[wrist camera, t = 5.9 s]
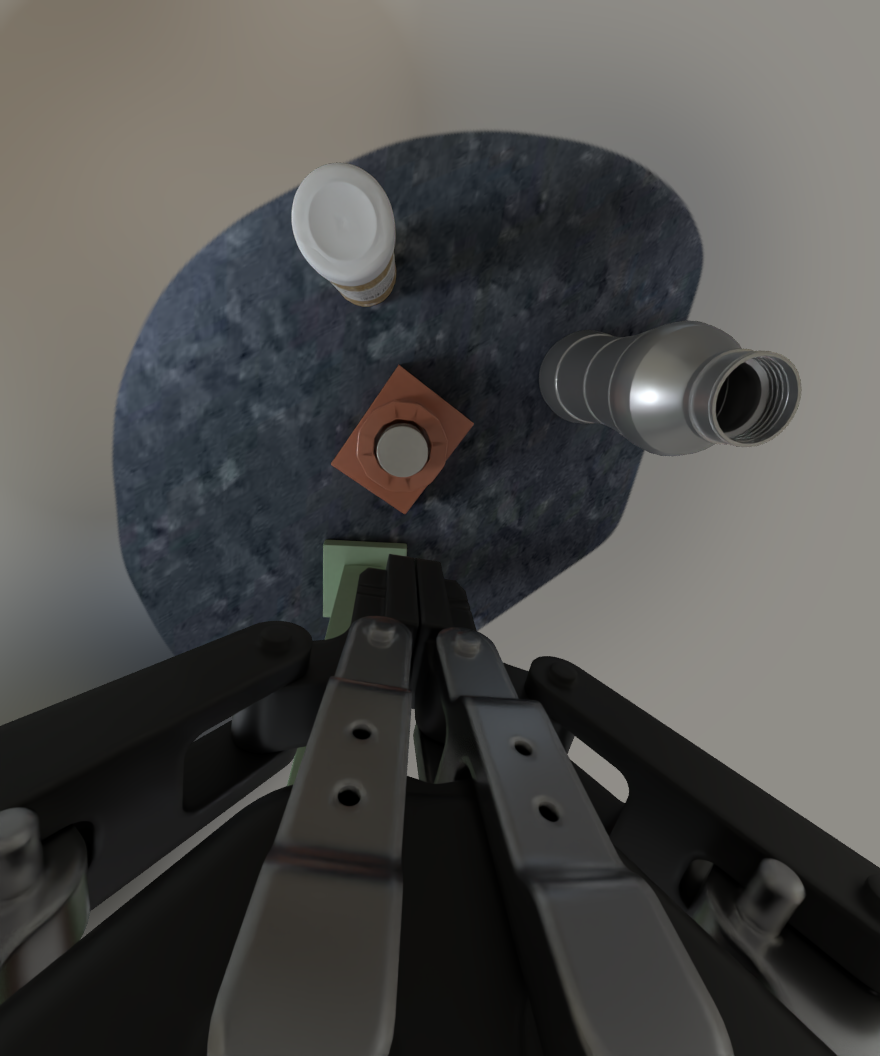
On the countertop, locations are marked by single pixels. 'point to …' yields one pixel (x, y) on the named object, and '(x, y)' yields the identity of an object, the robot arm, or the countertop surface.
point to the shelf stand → (346, 589)
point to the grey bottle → (672, 387)
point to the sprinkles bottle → (347, 231)
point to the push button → (402, 450)
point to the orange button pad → (412, 406)
